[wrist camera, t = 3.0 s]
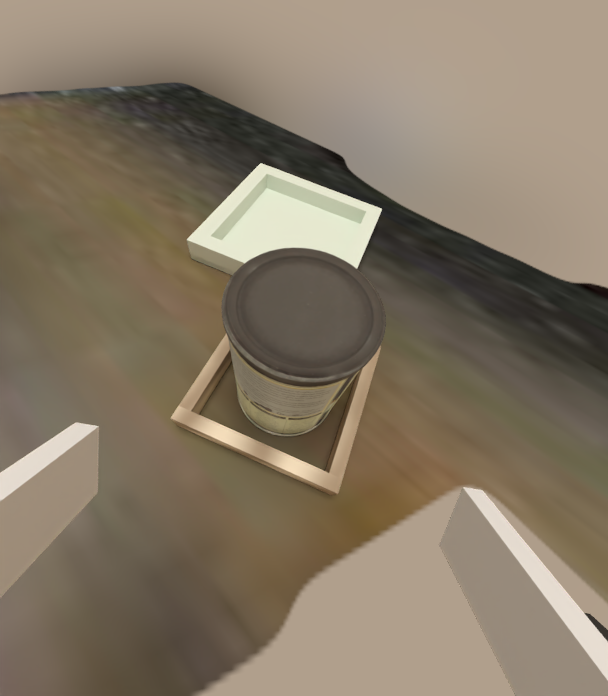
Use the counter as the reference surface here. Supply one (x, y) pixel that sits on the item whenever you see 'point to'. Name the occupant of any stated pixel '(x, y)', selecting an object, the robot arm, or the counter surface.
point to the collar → (263, 453)
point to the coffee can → (298, 335)
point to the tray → (282, 221)
